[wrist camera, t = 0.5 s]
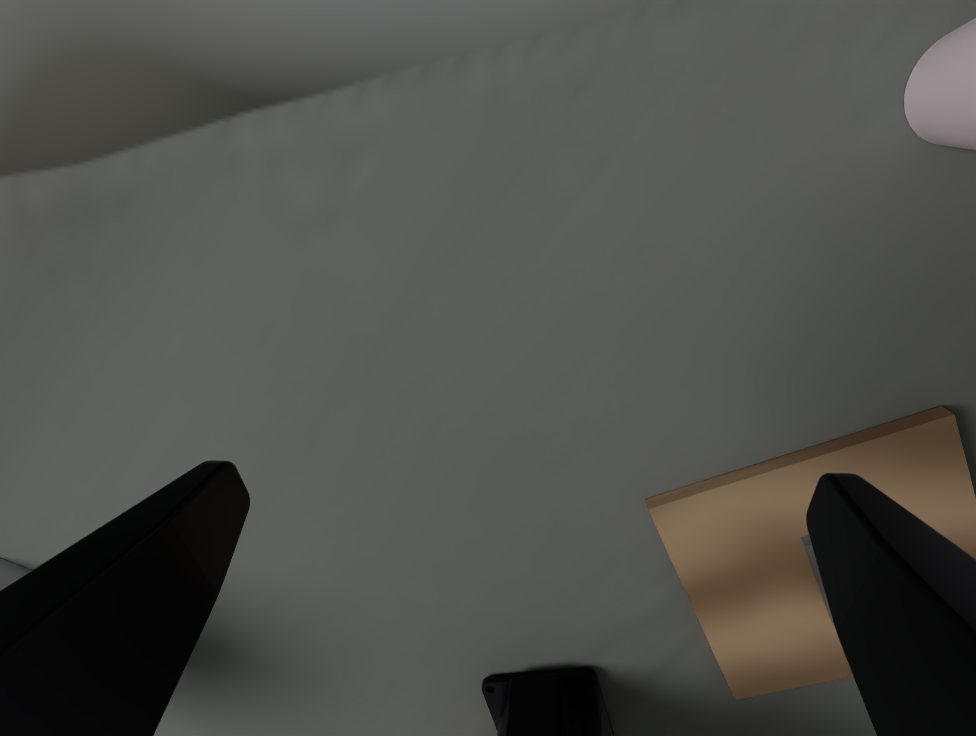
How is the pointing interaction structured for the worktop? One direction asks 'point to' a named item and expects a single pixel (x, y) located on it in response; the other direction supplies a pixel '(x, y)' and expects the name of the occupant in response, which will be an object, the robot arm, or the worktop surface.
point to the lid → (800, 544)
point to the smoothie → (945, 91)
